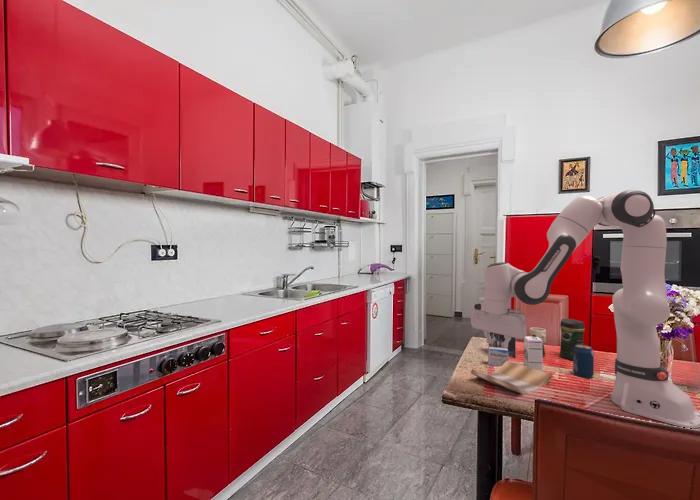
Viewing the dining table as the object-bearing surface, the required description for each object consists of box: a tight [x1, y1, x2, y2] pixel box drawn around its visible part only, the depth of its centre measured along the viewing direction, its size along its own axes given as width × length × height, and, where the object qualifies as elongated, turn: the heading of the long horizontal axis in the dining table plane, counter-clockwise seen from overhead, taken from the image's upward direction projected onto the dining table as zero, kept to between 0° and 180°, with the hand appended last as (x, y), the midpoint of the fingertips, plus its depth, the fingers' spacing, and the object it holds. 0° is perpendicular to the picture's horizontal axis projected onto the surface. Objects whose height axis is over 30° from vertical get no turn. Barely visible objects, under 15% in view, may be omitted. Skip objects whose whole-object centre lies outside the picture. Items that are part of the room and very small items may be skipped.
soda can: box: [572, 344, 595, 379], centre depth 138 cm, size 7×7×12 cm
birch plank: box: [470, 369, 529, 395], centre depth 123 cm, size 18×8×2 cm, turn 33°
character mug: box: [529, 326, 547, 356], centre depth 164 cm, size 11×7×13 cm, turn 6°
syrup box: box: [523, 335, 544, 372], centre depth 142 cm, size 6×6×14 cm
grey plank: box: [487, 371, 541, 393], centre depth 128 cm, size 18×8×2 cm, turn 33°
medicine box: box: [487, 346, 510, 367], centre depth 147 cm, size 8×4×9 cm, turn 73°
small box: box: [488, 332, 517, 359], centre depth 165 cm, size 13×7×12 cm, turn 6°
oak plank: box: [496, 360, 553, 388], centre depth 132 cm, size 18×8×2 cm, turn 32°
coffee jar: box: [559, 318, 586, 361], centre depth 160 cm, size 10×8×19 cm
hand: (497, 345), depth 121 cm, fingers open, 5 cm apart
